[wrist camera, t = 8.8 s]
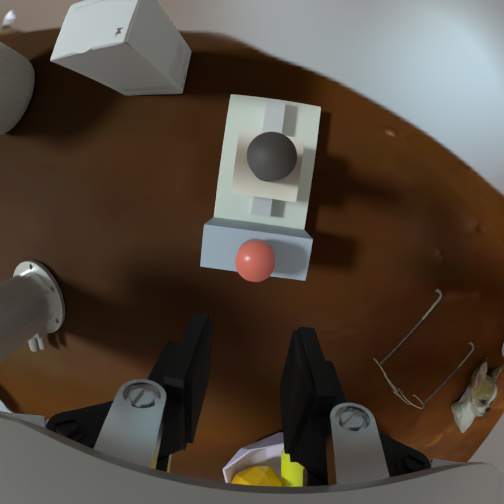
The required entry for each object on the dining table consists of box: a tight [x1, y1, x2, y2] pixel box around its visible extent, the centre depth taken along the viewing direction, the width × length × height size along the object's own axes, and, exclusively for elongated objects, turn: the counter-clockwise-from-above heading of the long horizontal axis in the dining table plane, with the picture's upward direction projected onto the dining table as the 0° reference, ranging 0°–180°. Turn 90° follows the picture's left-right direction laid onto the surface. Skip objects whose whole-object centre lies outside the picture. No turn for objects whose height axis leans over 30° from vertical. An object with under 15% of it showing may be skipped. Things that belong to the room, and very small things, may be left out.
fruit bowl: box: [223, 432, 304, 487], centre depth 37 cm, size 28×27×11 cm
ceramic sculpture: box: [451, 357, 504, 433], centre depth 35 cm, size 11×9×15 cm
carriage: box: [231, 130, 305, 202], centre depth 23 cm, size 6×6×14 cm
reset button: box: [235, 239, 275, 282], centre depth 24 cm, size 3×3×2 cm
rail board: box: [200, 94, 321, 280], centre depth 28 cm, size 18×10×7 cm, turn 172°
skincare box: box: [50, 0, 192, 96], centre depth 21 cm, size 8×7×16 cm
